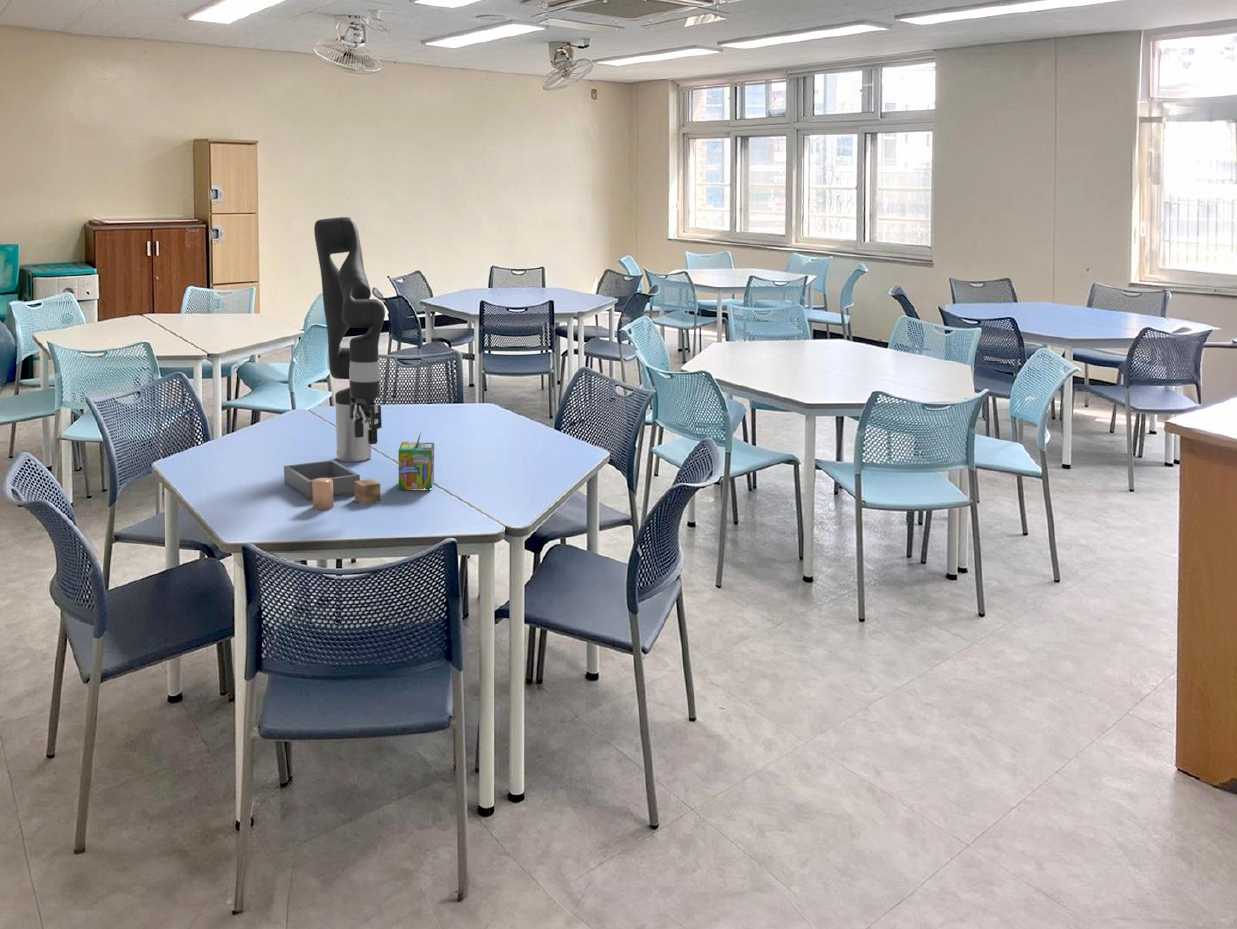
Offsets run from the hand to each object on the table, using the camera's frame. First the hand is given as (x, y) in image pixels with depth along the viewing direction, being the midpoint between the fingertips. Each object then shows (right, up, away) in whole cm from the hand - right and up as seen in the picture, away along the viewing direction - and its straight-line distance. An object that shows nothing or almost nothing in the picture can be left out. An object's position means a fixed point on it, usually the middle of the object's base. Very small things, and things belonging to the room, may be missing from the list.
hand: (365, 440), depth 274 cm
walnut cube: (-1, -16, +4) cm, 16 cm away
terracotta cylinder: (-10, -17, -3) cm, 20 cm away
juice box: (+9, -12, +19) cm, 24 cm away
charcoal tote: (-15, -13, +13) cm, 23 cm away
